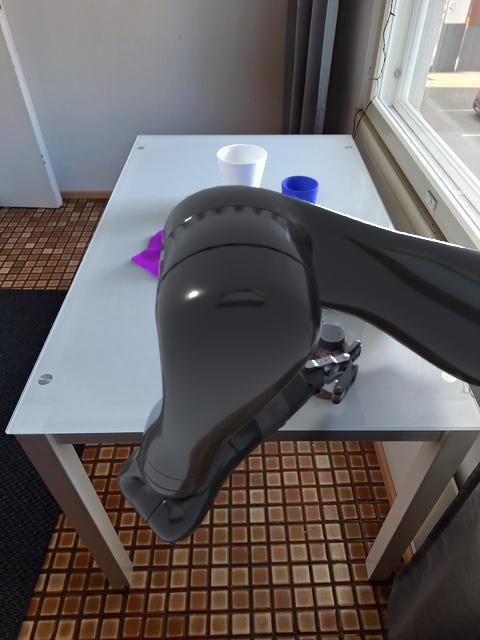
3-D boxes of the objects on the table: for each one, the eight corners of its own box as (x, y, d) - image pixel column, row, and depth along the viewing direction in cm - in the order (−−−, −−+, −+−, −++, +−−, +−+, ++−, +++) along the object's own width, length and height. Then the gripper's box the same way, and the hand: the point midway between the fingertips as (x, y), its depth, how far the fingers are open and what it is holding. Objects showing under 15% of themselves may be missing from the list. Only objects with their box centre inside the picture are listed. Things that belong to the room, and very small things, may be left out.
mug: (268, 236, 106) (270, 195, 100) (285, 212, 115) (288, 173, 108) (304, 244, 104) (308, 202, 97) (318, 218, 112) (323, 178, 106)
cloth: (123, 274, 96) (118, 248, 91) (149, 228, 109) (146, 203, 105) (232, 284, 93) (232, 257, 89) (245, 235, 107) (245, 210, 103)
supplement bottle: (299, 372, 76) (305, 318, 68) (335, 369, 76) (346, 315, 69) (307, 401, 71) (315, 347, 64) (346, 398, 72) (358, 343, 64)
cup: (255, 217, 113) (256, 167, 105) (210, 208, 116) (208, 159, 108) (271, 195, 121) (273, 147, 113) (229, 188, 125) (228, 141, 117)
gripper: (314, 413, 54) (388, 338, 63) (222, 352, 61) (302, 293, 70) (307, 451, 59) (377, 376, 68) (224, 390, 66) (297, 330, 75)
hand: (338, 334), depth 69 cm, fingers closed on supplement bottle, 6 cm apart
